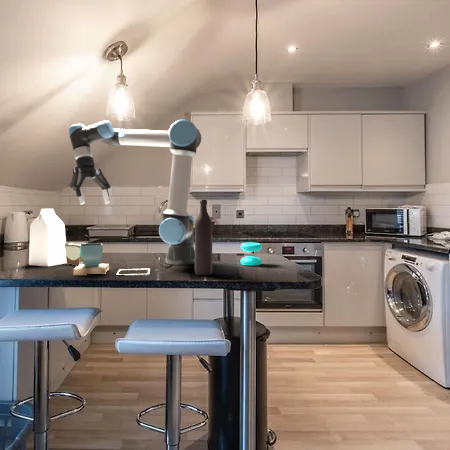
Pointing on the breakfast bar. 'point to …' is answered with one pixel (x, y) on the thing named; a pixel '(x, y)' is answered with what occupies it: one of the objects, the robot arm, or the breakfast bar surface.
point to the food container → (73, 253)
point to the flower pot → (91, 254)
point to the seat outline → (133, 274)
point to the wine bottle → (203, 241)
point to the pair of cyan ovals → (250, 259)
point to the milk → (47, 240)
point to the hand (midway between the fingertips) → (95, 203)
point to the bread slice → (91, 269)
